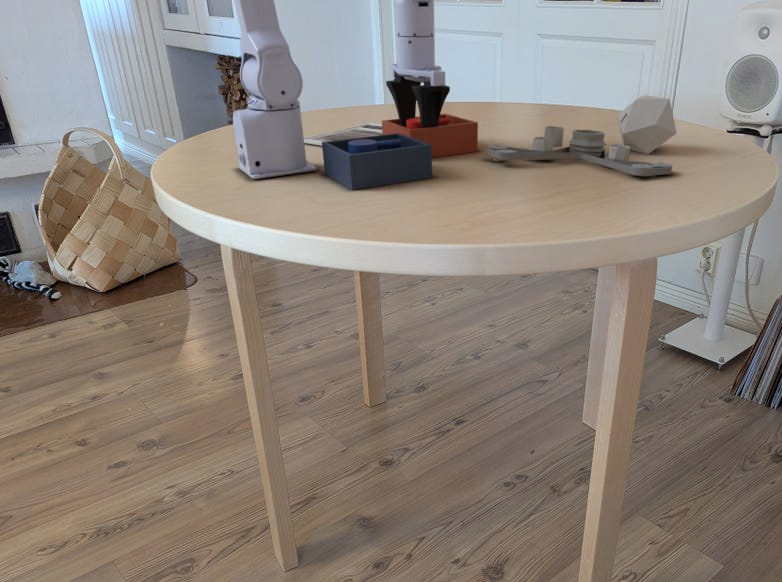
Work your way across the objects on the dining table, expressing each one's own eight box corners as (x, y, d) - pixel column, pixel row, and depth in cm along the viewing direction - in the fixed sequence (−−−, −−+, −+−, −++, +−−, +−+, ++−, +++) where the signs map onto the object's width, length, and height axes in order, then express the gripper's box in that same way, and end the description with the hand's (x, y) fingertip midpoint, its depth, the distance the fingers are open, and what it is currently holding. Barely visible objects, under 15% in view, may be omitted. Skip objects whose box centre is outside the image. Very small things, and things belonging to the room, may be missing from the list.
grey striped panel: (345, 149, 109) (412, 131, 122) (344, 145, 109) (412, 128, 122) (300, 142, 115) (368, 125, 127) (299, 139, 114) (368, 122, 127)
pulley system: (507, 149, 111) (477, 164, 98) (509, 120, 109) (479, 131, 96) (675, 168, 103) (666, 186, 90) (681, 136, 100) (673, 151, 88)
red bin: (411, 160, 103) (410, 130, 100) (383, 148, 110) (381, 120, 108) (477, 151, 108) (478, 122, 106) (446, 140, 115) (446, 113, 113)
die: (625, 146, 113) (603, 99, 106) (677, 120, 109) (657, 70, 103) (635, 175, 108) (612, 128, 101) (689, 149, 104) (670, 99, 97)
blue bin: (352, 190, 88) (349, 155, 86) (324, 174, 96) (321, 142, 93) (432, 177, 93) (431, 144, 91) (400, 163, 101) (398, 132, 99)
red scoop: (414, 151, 106) (413, 123, 103) (403, 147, 109) (402, 119, 106) (456, 146, 109) (456, 118, 107) (444, 142, 112) (444, 114, 110)
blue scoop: (357, 179, 91) (354, 146, 89) (346, 173, 94) (343, 141, 92) (408, 171, 94) (406, 139, 92) (395, 166, 97) (394, 135, 95)
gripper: (463, 37, 96) (462, 134, 103) (416, 32, 107) (419, 120, 114) (420, 39, 93) (422, 139, 100) (377, 34, 104) (382, 124, 111)
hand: (418, 129), depth 106 cm, fingers open, 7 cm apart
